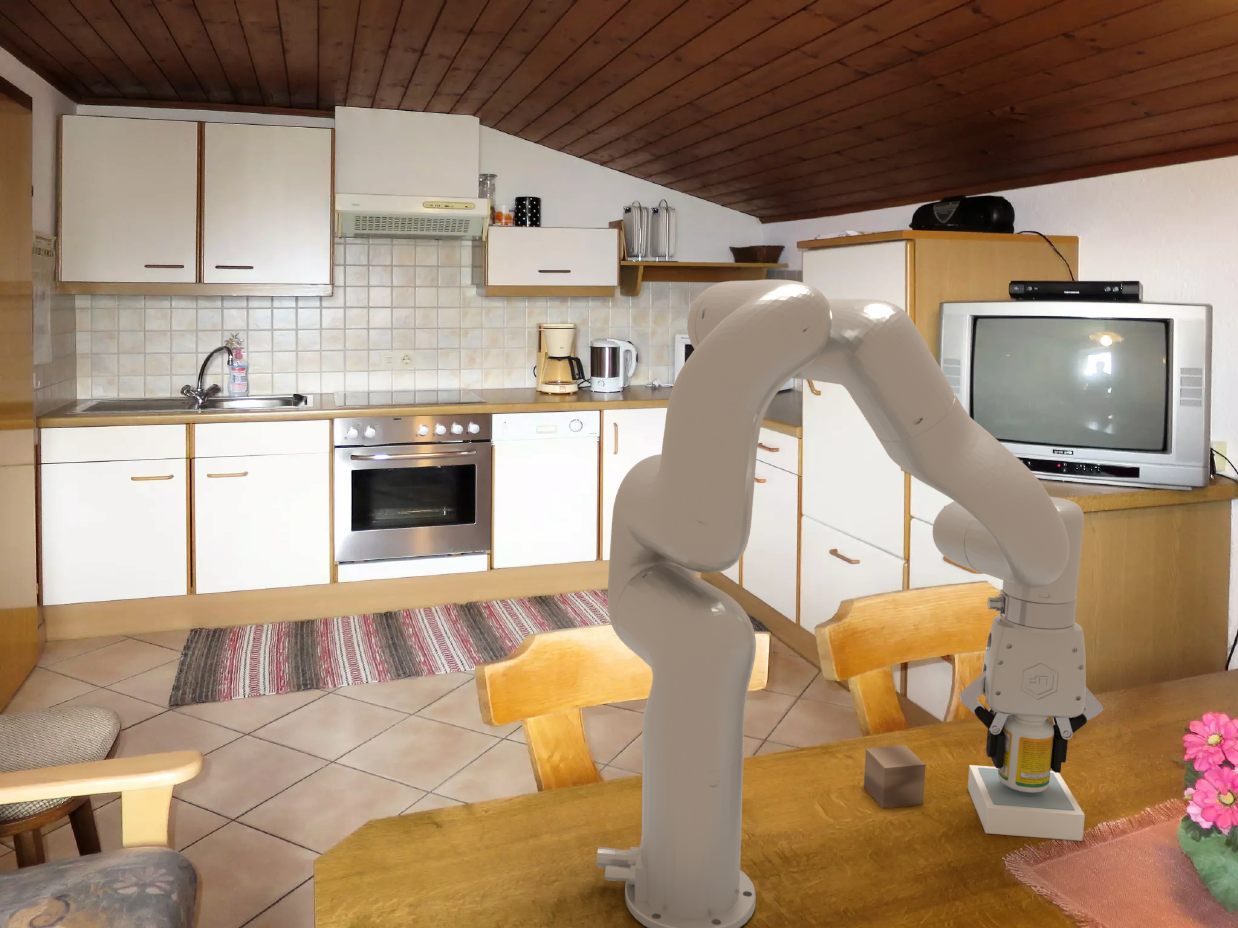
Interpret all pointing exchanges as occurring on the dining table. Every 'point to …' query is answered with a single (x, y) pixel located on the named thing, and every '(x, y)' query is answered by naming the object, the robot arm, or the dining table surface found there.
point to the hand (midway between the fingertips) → (1024, 763)
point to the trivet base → (1025, 807)
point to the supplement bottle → (1027, 753)
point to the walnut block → (894, 776)
